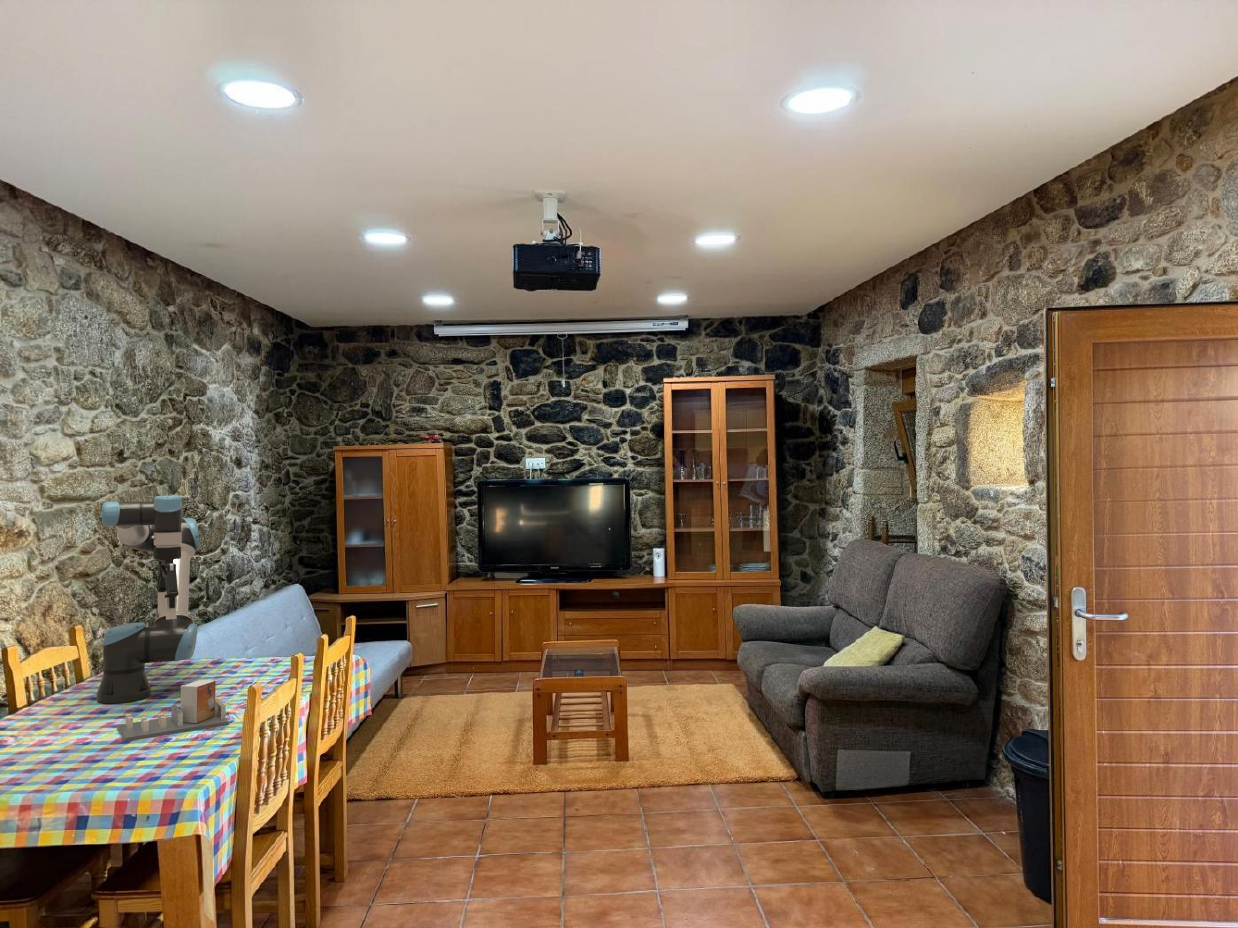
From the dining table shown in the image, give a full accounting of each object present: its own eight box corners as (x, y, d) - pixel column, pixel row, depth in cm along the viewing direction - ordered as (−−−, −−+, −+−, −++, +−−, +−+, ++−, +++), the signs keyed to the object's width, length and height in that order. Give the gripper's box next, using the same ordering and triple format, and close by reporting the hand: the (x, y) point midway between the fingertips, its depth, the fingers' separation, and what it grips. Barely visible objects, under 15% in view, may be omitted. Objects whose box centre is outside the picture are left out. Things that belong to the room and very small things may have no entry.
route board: (116, 728, 243) (117, 714, 243) (216, 713, 258) (216, 699, 258) (124, 741, 231) (124, 726, 231) (228, 724, 246) (228, 710, 247)
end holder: (171, 719, 248) (171, 705, 248) (217, 712, 256) (217, 698, 256) (178, 727, 240) (178, 713, 240) (225, 719, 248) (225, 705, 248)
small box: (196, 723, 244) (196, 686, 244) (179, 722, 245) (179, 685, 245) (215, 716, 252) (216, 680, 252) (199, 714, 253) (199, 679, 253)
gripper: (146, 544, 269) (146, 611, 269) (161, 549, 249) (160, 622, 249) (173, 542, 274) (172, 609, 274) (189, 548, 254) (189, 620, 254)
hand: (166, 616), depth 261 cm, fingers open, 13 cm apart
